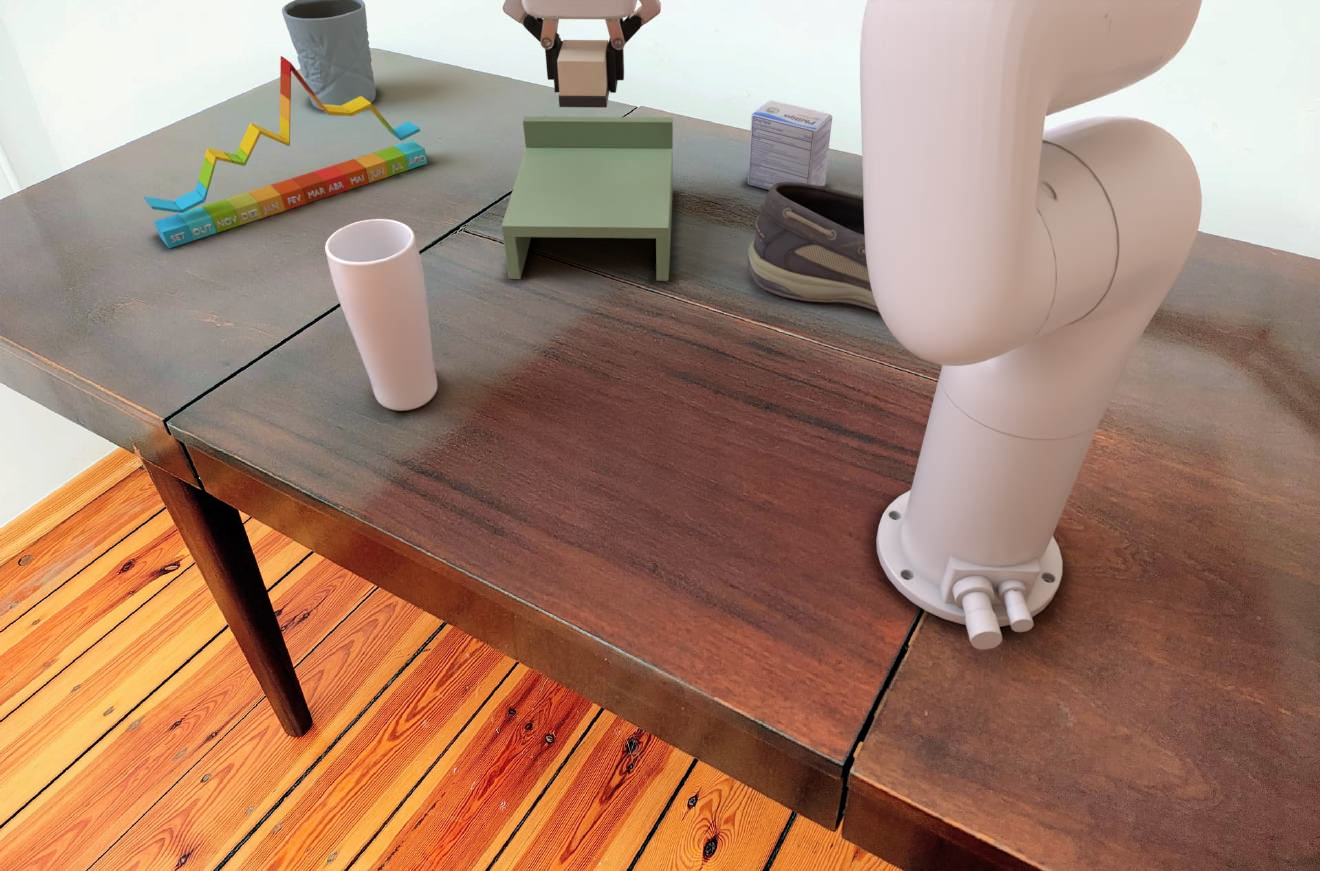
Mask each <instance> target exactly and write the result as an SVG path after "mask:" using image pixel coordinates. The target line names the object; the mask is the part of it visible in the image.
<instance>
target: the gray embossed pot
mask: <svg viewBox="0 0 1320 871" xmlns="http://www.w3.org/2000/svg"><path fill="white" fill-rule="evenodd" d="M281 14H282V17H283V19H284V20H283V21H284V23H285V25H286V28H287V31H288V34H289V37H290V39H291V43H292V46H293V47H294V49H295V51H296V54H297V61H298V64H299V68H300V71H301V74H302V76H303V79H304V81H305V82H306V83H307V85H308V86H309V87H310V88H311V90H312V91H313V92H314V94H315V95H316V96H317V98H318V99H319V100H320V102H321V103H322V104H327V105H341V106H342V105H343V104H345V103H347V102H350V101H352V100H354V99H356V98H358V97H360V96H362V97H363V98H365V99H366V100H368V101H369V102H370V103H371V104H372V103H373V102H374V101H375V99H376V95H377V92H376V85H375V77H374V71H373V66H372V57H371V56H372V53H371V47H370V40H369V31H368V19H367V11H366V4H365V2H364V0H291V1H289V2H288V3H286V4H284V6H282V9H281ZM308 96H309V99H310V103H311V104H312V106H313V107H314V108H316V109H317V110H320V111H323V110H322V109H321V108H319V106H318V105H317V104H316V103H315V101H314V100H313V99H312V97H311V96H310V95H309V94H308Z"/></svg>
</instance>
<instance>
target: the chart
mask: <svg viewBox="0 0 1320 871" xmlns="http://www.w3.org/2000/svg"><path fill="white" fill-rule="evenodd" d="M279 66H280V69H279V70H280V74H279V75H280V76H279V77H280V78H279V79H280V80H279V134H277V133H275V132H273V131H270V130H268V129H266V128H263V127H262V126H259V125H257V124H255V123H252V122H249V125H248V127H247V129H246V131H245V133H244V135H243V138H242V139H241V141H240V144H239V146H238V148H237V149H236V152H235V153H230V152H227V151H222V150H218V149H213V148H209V147H207V148H206V150H205V153H204V158H203V160H202V164H201V168H200V172H199V176H198V180H197V183H196V186H195V189H193V190H191V191H190V192H188V193H185V194H183V195H181V196H179V197H177V198H175V199H172V200H171V199H166V198H165V199H163V198H157V197H151V196H150V197H149V196H143V198H144V201H145V202H146V203H147V204H148V205H149V207H150V208H151V209H152V210H153V211H154V210H155V211H162V212H171V213H176V214H173V215H170V216H167V217H163V218H160V219H157V220H154V221H153V223H154V226H155V228H156V230H157V233H158V235H159V238H160V239H161V240H162V241H163V242H164V244H165V245H166V247H167V248H168V249H171V248H175V247H178V246H180V245H183V244H187V243H190V242H193V241H197V240H199V239H202V238H205V237H209V236H211V235H216V234H217V233H221V232H224V231H227V230H229V229H230V230H231V229H233V228H237V227H239V226H242V225H245V224H248V223H251V222H254V221H257V220H261V219H263V218H267V217H269V216H273V215H275V214H279V213H282V212H285V211H288V210H291V209H294V208H298V207H300V206H303V205H306V204H309V203H313V202H315V201H319V200H321V199H325V198H327V197H330V196H333V195H337V194H340V193H343V192H345V191H349V190H352V189H355V188H359V187H361V186H364V185H367V184H370V183H373V182H377V181H379V180H383V179H386V178H389V177H391V176H394V175H397V174H400V173H404V172H406V171H409V170H411V169H415V168H417V167H421V166H424V165H427V164H428V160H427V154H426V149H425V147H423V146H422V145H421V144H419V143H418V142H416V141H415V140H414V139H412V140H408V141H405V140H406V139H408V138H410V137H411V136H414V135H416V134H418V133H419V132H421V128H420V127H419V126H418V125H416V124H414V123H413V122H412V121H410V120H408V121H406V122H404V123H402V124H400V125H398V126H396V127H394V128H393V127H392V126H391V125H390V124H389V122H388V121H387V120H386V119H385V118H384V116H383V115H382V114H381V113H380V112H379V110H378V109H377V108H376V107H375V106H374V104H373V103H372V102H371V103H370V102H369V101H368V100H366V99H365V98H363V97H362V96H360V97H358V98H356V99H354V100H352V101H350V102H347V103H345V104H343V105H342V106H341V105H327V104H322V103H321V102H320V100H319V99H318V98H317V96H316V95H315V94H314V92H313V91H312V90H311V88H310V87H309V86H308V85H307V83H306V82H305V78H304V77H302V75H301V74H300V73H299V72H298V70H297V68H296V67H295V66H294V65H293V63H292V62H291V61H289V59H287V58H285V57H284V56H283V55H280V65H279ZM292 74H293V75H294V76H295V78H296V79H297V80H298V82H299V83H300V85H301V86H302V87H303V88H304V90H305V91H306V92H307V94H308V96H309V95H310V96H311V97H312V99H313V100H314V101H315V103H316V104H317V105H318V106H319V108H321V109H322V110H321V111H323V112H325V113H326V114H328V115H329V116H343V117H353V116H356V115H358V114H360V113H362V112H364V111H365V110H368V109H369V110H370V111H371V112H372V113H373V114H374V116H375V117H376V118H377V119H378V120H379V122H380V123H381V124H382V125H383V126H384V127H385V129H386V130H387V131H388V132H389V133H390V134H391V135H392V136H394V137H395V138H397V139H398V140H399V141H401V142H402V141H405V142H402V143H399V144H396V145H393V146H391V147H387V148H383V149H380V150H377V151H374V152H372V153H369V154H365V155H362V156H359V157H355V158H351V159H350V160H346V161H343V162H339V163H336V164H333V165H330V166H326V167H324V168H320V169H316V170H314V171H310V172H307V173H305V174H301V175H297V176H294V177H292V178H291V177H290V178H288V179H285V180H282V181H279V182H276V183H272V184H268V185H265V186H263V187H260V188H256V189H253V190H250V191H247V192H244V193H241V194H237V195H234V196H231V197H227V198H224V199H221V200H218V201H215V202H211V203H208V204H205V205H201V204H203V203H206V200H207V196H208V192H209V189H210V187H211V182H212V180H213V175H214V172H215V168H216V164H217V161H221V162H225V163H229V164H234V165H239V166H243V167H245V166H246V165H247V164H248V162H249V159H250V157H251V155H252V153H253V151H254V149H255V147H256V145H257V143H258V141H259V139H260V137H261V136H264V137H266V138H269V139H271V140H274V141H275V142H278V143H279V144H283V145H285V146H287V147H291V104H292V103H291V102H292V101H291V100H292V99H291V98H292ZM310 96H309V97H310ZM199 205H201V206H199Z"/></svg>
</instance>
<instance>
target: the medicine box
mask: <svg viewBox="0 0 1320 871" xmlns="http://www.w3.org/2000/svg"><path fill="white" fill-rule="evenodd" d="M750 120H751V121H750V137H749V138H750V139H749V140H750V141H749V156H748V157H749V158H748V174H747V185H749V186H753V187H757V188H760V189H764V190H768V191H769V190H770V189H771V187H772V186H773V185H774V184H776V183H780V182H799V183H806V184H812V185H818V186H826V179H827V169H828V161H829V160H828V158H829V150H830V141H831V134H832V133H831V131H832V125H833V124H832V122H833V115H832V114H830V113H826V112H822V111H819V110H815V109H811V108H806V107H802V106H799V105H794V104H788V103H785V102H784V103H783V102H780V101H775V100H769V101H767V102H766V103H764V104H763V105H761V106H760V107H759V108H757V110H755V111H754V112H753V113H751V119H750Z"/></svg>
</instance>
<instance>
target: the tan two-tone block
mask: <svg viewBox="0 0 1320 871" xmlns="http://www.w3.org/2000/svg"><path fill="white" fill-rule="evenodd" d="M562 41H563V43H562V47H561V50H560V53H559V57H558V60H557V65H558V78H559V91H560V92H559V94H558V107H559V108H598V109H599V108H605V109H606V108H607V107H608V102H609V97H610V91H609V90H608V76H607V47H608V42H609V39H563V40H562Z"/></svg>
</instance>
